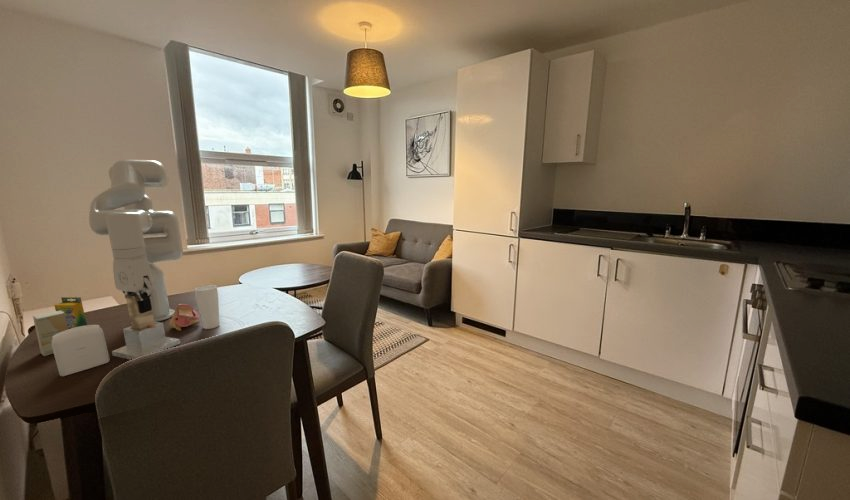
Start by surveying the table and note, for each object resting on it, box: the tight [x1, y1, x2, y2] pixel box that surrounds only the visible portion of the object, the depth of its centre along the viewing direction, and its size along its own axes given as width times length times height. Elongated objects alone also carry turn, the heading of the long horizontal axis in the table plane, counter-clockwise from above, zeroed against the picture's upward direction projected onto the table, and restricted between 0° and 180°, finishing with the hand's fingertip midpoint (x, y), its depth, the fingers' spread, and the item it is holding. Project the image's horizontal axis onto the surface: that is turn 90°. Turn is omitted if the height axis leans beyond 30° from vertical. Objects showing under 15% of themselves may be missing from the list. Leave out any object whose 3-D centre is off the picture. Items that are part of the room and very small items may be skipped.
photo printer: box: [52, 324, 111, 377], centre depth 94 cm, size 10×4×12 cm, turn 140°
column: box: [125, 292, 155, 330], centre depth 103 cm, size 4×4×14 cm
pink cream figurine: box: [169, 303, 200, 331], centre depth 122 cm, size 9×10×10 cm
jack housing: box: [111, 321, 181, 361], centre depth 104 cm, size 12×12×8 cm
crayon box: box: [53, 296, 88, 329], centre depth 120 cm, size 7×3×12 cm, turn 90°
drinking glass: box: [194, 284, 221, 330], centre depth 120 cm, size 7×7×15 cm
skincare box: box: [32, 310, 68, 357], centre depth 104 cm, size 6×4×12 cm
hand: (140, 310), depth 103 cm, fingers closed on column, 4 cm apart
